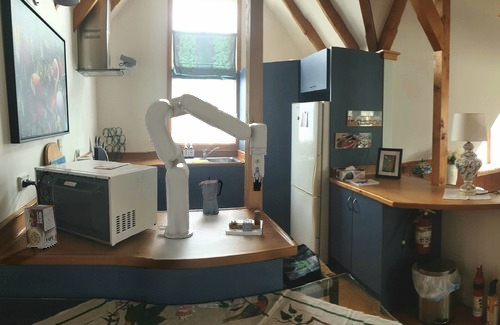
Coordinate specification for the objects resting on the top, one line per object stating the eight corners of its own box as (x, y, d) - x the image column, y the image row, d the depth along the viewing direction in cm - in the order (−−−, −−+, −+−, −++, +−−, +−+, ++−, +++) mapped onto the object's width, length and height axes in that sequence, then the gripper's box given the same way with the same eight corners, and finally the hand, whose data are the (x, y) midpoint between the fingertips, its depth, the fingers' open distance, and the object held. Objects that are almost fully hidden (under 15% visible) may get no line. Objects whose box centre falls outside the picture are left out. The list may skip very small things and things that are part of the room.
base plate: (225, 234, 154) (225, 231, 154) (230, 222, 172) (230, 219, 172) (261, 235, 153) (261, 232, 153) (262, 223, 171) (262, 220, 171)
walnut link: (228, 228, 156) (228, 212, 156) (229, 225, 161) (229, 209, 160) (260, 228, 156) (260, 212, 155) (260, 225, 160) (260, 210, 159)
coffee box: (58, 243, 141) (55, 205, 139) (45, 249, 135) (43, 209, 133) (39, 241, 143) (36, 204, 141) (26, 247, 136) (23, 207, 135)
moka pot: (194, 213, 189) (194, 177, 186) (217, 208, 199) (216, 174, 197) (204, 216, 182) (204, 179, 179) (227, 211, 192) (227, 176, 190)
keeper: (229, 230, 154) (229, 222, 154) (231, 226, 161) (231, 218, 160) (251, 231, 154) (251, 223, 153) (252, 226, 160) (252, 219, 160)
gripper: (266, 153, 145) (265, 193, 147) (266, 149, 162) (266, 185, 164) (248, 152, 145) (247, 192, 147) (250, 149, 162) (250, 185, 164)
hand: (257, 188), depth 156 cm, fingers open, 9 cm apart
